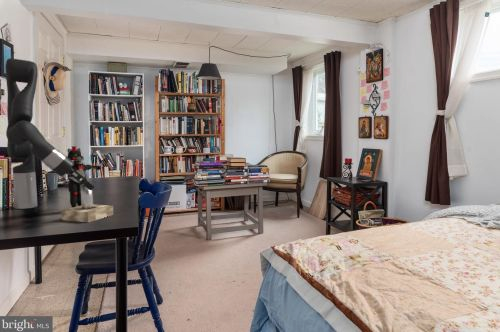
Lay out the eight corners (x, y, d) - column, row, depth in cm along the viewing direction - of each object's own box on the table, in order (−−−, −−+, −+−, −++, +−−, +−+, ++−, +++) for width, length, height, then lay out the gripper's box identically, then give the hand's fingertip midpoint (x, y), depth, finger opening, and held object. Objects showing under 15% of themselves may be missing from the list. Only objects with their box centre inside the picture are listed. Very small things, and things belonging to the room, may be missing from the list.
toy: (61, 219, 142) (57, 147, 139) (45, 218, 143) (41, 147, 141) (105, 205, 171) (103, 145, 169) (92, 204, 173) (89, 145, 170)
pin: (79, 218, 144) (78, 185, 142) (87, 216, 148) (86, 183, 147) (87, 219, 142) (86, 185, 141) (95, 216, 146) (94, 184, 145)
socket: (61, 219, 141) (61, 210, 141) (88, 212, 154) (87, 204, 154) (88, 222, 136) (87, 212, 136) (113, 214, 149) (112, 205, 149)
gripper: (68, 155, 133) (100, 182, 141) (62, 154, 144) (92, 179, 152) (53, 170, 130) (87, 196, 138) (48, 168, 141) (80, 192, 149)
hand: (90, 187), depth 145 cm, fingers open, 8 cm apart
